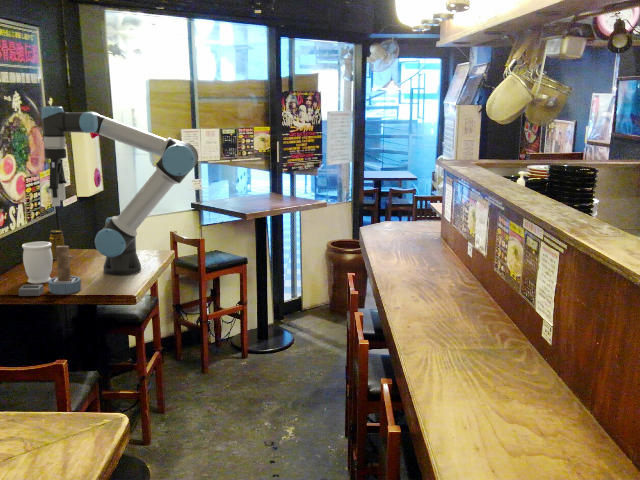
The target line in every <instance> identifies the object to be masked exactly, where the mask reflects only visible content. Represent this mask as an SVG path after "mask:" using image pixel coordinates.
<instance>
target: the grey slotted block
mask: <svg viewBox="0 0 640 480" xmlns="http://www.w3.org/2000/svg"><path fill="white" fill-rule="evenodd" d="M44 288H45V287H44V284H22V285H21V287H20V288H18V296H19V297H31V296H32V297H33V296H37V297H38V296H39V297H40V296H41V294H42V293H44Z"/></svg>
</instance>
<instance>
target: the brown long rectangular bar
mask: <svg viewBox="0 0 640 480" xmlns="http://www.w3.org/2000/svg"><path fill="white" fill-rule="evenodd" d="M56 253H57V259H56V264H57V265H56V266H57V268H56V269H57V277H58V281H71V276H72V274H71V263H70V262H71V260H70V258H71V257H69V255H70V246H69V245H64V246H57V247H56Z"/></svg>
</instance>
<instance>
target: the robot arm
mask: <svg viewBox="0 0 640 480" xmlns="http://www.w3.org/2000/svg"><path fill="white" fill-rule="evenodd" d="M41 124H42V132H43V133H42V134H43V136H42V137H43V138H42V139H41V141H42V142H43V147H44V157H45V159H47V160H48V159H49V160H51V162H50V161H49V186H48V189H49V190H50V193H51V194H50V195H51V207H60V206H61V201H66V197H67V196H66V184H67V180H66V177H65V170H64V164H63V159H66V158H67V149H66V148H65V147H66V146H67V144H66V135H65V133H83V134H90V133H92V134H96V135H99V136H103V137H105V138H108V139H110V140H112V141H116V142H119V143H122V144H124V145H127V146H130V147H132V148H135V149H138V150H141V151H143V152H145V153H148V154H150V155H151V154H152V155H155V156H157V157H160V159H158V161H157V162H156V163H155V171H154V172H153V173H152V175H151V176H150V177H149V178H148V180H146V182H145V183H144V185H143V186H142V187H141V188H140V189H139V190H138V192H137V193H136V194H135V195H134V196H133V198H132V199H131V200H130V201H129V202H128V204H127V205H126V206H125V207H124V209H122V211H121V212H120V214H119V215H114V216H111V217H107V218H106V219H105V224H104V225H105V226H104V227H103V228H102V229H101V230H99V231H98V232H97V233H96V235H95V238H94V245H95V248H96V250H97V252H98V253H99V254H101V255H102V256H104V257H105V261H104V263H103V266H102V267H103V273H104V274H106V275H109V276H110V275H111V276H128V275H133V274H134V273H135V274H137V273H136V272H138V273H140V272H141V271H142V265H141V264H142V263H141V262H140V259H139V256H138V254H137V253H138V252H137V239H136V237H137V235H138V230H137V229H138V228H139V227H140V226H141V225H142V224H143V222H144V221H145V220H146V219H147V217H148V216H149V215H150V214H151V213H152V212H153V210H154V209H155V208H156V206H157V205H158V204H159V203H160V201H162V199H163V198H164V197H165V196H166V194H168V192H170V189H171V188H172V187H173V186H174V185H176V184H181V183H182V182H183V180H184V179H185V178H186V177H187V176H188V175H189V173H190V172H191V171H192V170H193V169H194V168H195V167H196V166H197V164H198V162H199V154H198V153H199V152H198V150H197V149H196V148H195V146H194V145H192V144H191V143H189V142H186V141H182V140H181V141H180V140H179V139H174V138H171V137H168V138H164V137H161V136H159V135H156V134H153V133H150V132H148V131H144V130H142V129H140V128H137V127H134V126H131V125H128V124H126V123H123V122H120V121H117V120H115V119H113V118H109V117H106V116H105V115H100V114H99V113H98V112H96V111H93V110H92V111H89V110H88V111H81V112H79V111H77V112H74V111H72V112H71V111H70V112H67V111H64V108H63V106H47V105H46V106H42V108H41ZM140 270H141V271H140ZM139 271H140V272H139Z"/></svg>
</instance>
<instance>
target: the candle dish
mask: <svg viewBox="0 0 640 480" xmlns="http://www.w3.org/2000/svg"><path fill="white" fill-rule="evenodd" d="M47 284H48V290H49V293H50V294H52V295H57V296H58V295H62V296H63V295H70V294H71V295H72V294H76V293H78V292H80V291H81V290H82V278H81V277H80V276H77V275H76V276H75V275H71V281H58V276H54V277H52V278H51V279H50V280H49V281H48V282H47Z"/></svg>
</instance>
